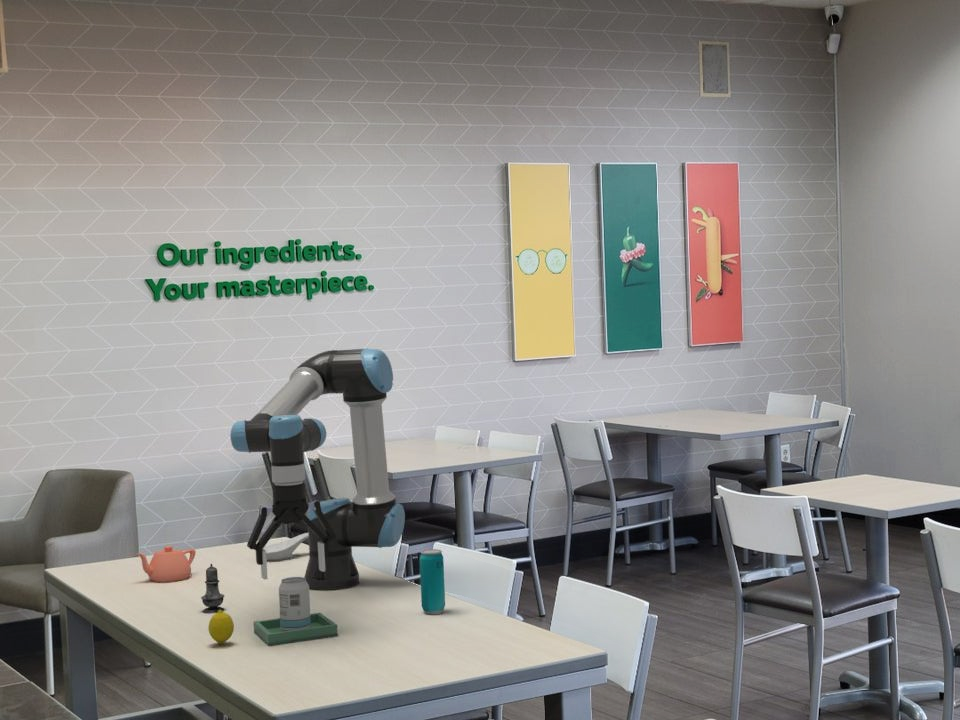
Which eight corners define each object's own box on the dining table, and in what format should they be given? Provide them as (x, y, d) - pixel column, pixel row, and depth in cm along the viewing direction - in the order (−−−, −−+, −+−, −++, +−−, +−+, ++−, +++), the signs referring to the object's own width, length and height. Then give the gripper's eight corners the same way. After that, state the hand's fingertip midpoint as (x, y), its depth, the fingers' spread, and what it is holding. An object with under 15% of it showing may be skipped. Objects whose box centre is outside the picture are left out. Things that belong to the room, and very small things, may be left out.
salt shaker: (219, 613, 297) (217, 565, 296) (197, 613, 298) (195, 565, 297) (229, 607, 302) (226, 561, 302) (207, 607, 304) (205, 561, 303)
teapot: (205, 577, 343) (203, 544, 343) (145, 587, 332) (144, 553, 332) (187, 571, 353) (185, 539, 353) (128, 581, 342) (127, 548, 341)
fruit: (222, 648, 262) (220, 613, 262) (204, 646, 265) (202, 610, 265) (239, 642, 267) (238, 607, 267) (221, 640, 270) (220, 605, 270)
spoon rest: (261, 565, 359) (260, 541, 359) (252, 558, 370) (251, 536, 370) (336, 556, 369) (335, 533, 368) (326, 550, 379) (325, 528, 379)
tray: (320, 622, 282) (320, 612, 282) (337, 635, 270) (337, 625, 270) (254, 632, 276) (253, 621, 276) (268, 645, 263) (267, 634, 263)
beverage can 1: (316, 628, 275) (313, 576, 275) (302, 635, 268) (299, 583, 268) (289, 626, 277) (287, 575, 277) (275, 634, 271) (272, 582, 270)
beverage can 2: (449, 610, 290) (447, 549, 290) (438, 615, 285) (436, 553, 284) (428, 608, 292) (426, 548, 292) (417, 614, 287) (415, 552, 287)
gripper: (336, 475, 280) (340, 564, 281) (231, 486, 270) (236, 578, 271) (345, 479, 273) (350, 570, 274) (238, 490, 263) (243, 584, 264)
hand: (293, 574), depth 273 cm, fingers open, 13 cm apart
